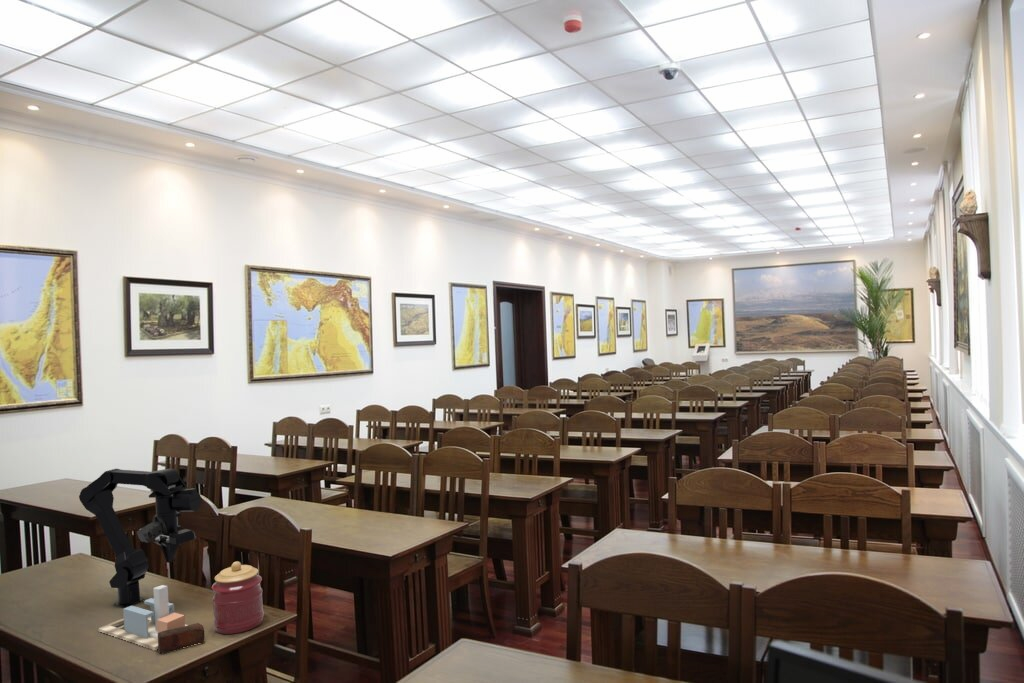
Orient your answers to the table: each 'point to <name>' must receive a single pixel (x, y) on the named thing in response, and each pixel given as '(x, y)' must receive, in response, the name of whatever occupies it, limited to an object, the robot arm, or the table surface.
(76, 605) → the table surface
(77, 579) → the table surface
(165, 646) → the brick
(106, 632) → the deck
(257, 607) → the canister
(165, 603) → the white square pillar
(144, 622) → the light blue blocks
